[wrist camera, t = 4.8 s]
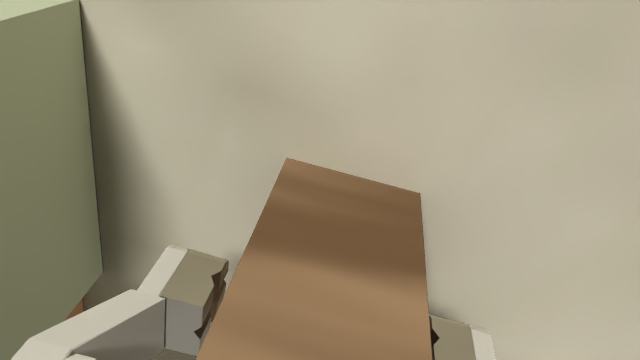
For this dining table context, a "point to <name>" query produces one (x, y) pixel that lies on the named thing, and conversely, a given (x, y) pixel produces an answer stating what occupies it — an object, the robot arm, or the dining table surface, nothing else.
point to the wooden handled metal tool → (328, 275)
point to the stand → (44, 170)
